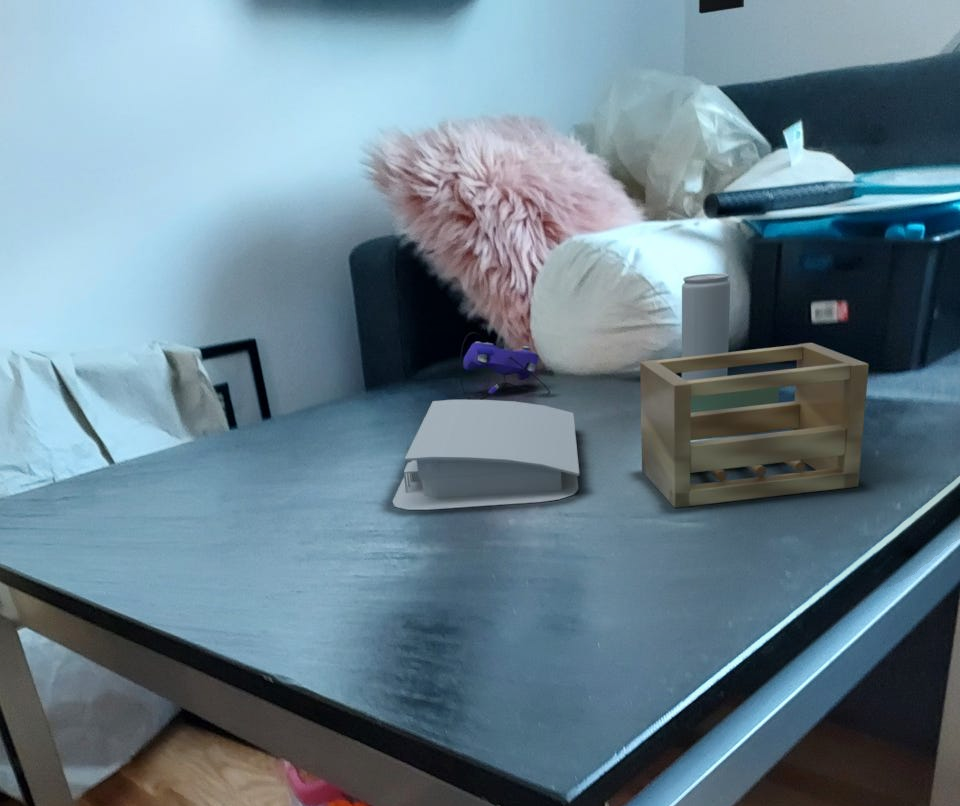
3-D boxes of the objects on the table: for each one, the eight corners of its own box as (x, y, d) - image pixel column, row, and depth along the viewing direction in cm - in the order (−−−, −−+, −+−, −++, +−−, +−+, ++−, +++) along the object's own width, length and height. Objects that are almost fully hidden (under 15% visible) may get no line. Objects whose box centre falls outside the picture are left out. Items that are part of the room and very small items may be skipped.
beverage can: (712, 387, 105) (714, 272, 100) (736, 395, 101) (739, 275, 96) (673, 394, 104) (673, 277, 99) (695, 402, 100) (697, 280, 94)
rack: (805, 452, 80) (812, 342, 76) (858, 486, 71) (869, 363, 67) (641, 471, 79) (639, 361, 75) (674, 508, 70) (674, 385, 67)
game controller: (527, 346, 118) (558, 338, 109) (518, 413, 119) (547, 411, 110) (451, 331, 115) (476, 322, 105) (442, 400, 116) (466, 397, 107)
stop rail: (773, 406, 95) (775, 382, 94) (778, 409, 94) (779, 384, 93) (665, 418, 95) (665, 394, 94) (669, 421, 94) (668, 396, 92)
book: (387, 512, 76) (380, 464, 74) (421, 438, 96) (417, 399, 95) (580, 499, 74) (578, 450, 72) (573, 427, 95) (572, 387, 93)
